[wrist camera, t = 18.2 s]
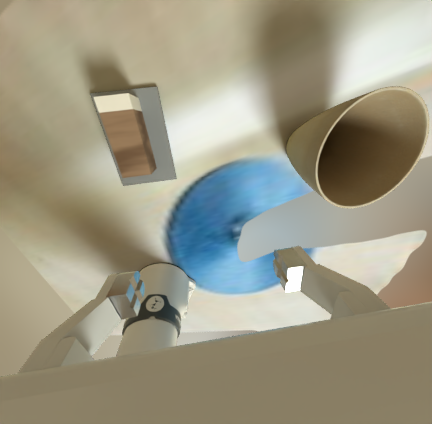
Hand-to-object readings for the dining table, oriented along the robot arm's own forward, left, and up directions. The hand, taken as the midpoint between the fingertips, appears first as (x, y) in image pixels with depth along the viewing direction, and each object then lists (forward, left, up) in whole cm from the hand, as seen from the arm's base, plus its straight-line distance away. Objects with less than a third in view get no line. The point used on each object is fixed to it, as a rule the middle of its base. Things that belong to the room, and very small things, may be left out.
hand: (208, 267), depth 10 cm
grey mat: (+3, +12, -29) cm, 32 cm away
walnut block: (-2, +11, -26) cm, 28 cm away
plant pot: (+8, -21, -29) cm, 37 cm away
